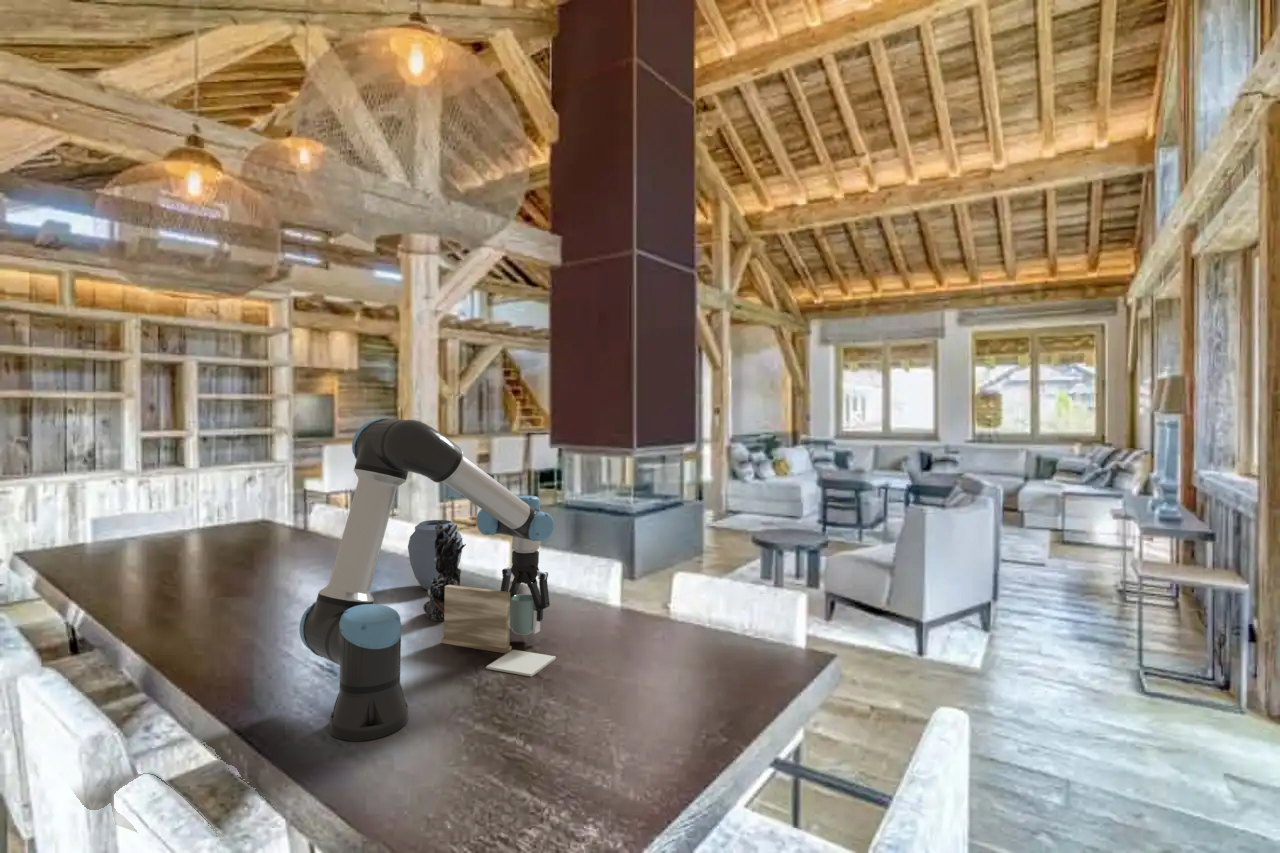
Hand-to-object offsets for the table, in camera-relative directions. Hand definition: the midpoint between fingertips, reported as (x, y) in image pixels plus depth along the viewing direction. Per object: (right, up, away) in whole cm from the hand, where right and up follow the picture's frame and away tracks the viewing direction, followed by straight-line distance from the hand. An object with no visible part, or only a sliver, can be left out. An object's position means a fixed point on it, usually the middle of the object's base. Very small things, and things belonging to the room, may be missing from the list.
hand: (523, 630), depth 187 cm
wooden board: (-12, -3, -5) cm, 13 cm away
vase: (-42, -2, +55) cm, 70 cm away
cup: (0, -1, 0) cm, 1 cm away
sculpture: (-29, -3, +22) cm, 37 cm away
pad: (+3, -4, -16) cm, 17 cm away
